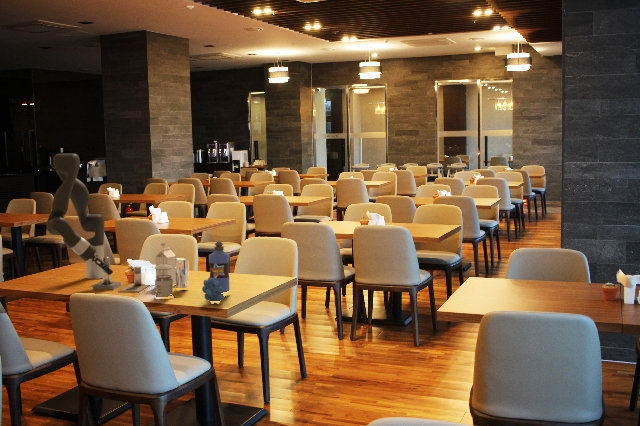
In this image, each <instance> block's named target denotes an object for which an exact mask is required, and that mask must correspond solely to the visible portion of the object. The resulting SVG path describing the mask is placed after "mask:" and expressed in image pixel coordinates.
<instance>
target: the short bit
mask: <svg viewBox="0 0 640 426" xmlns="http://www.w3.org/2000/svg"><path fill="white" fill-rule="evenodd" d="M133 269H134V273H133V274H134V275H133V279H134V280H133V284H134V286H142V284H143V282H142V279H143V277H142V266H134V268H133Z"/></svg>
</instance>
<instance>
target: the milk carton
mask: <svg viewBox="0 0 640 426" xmlns="http://www.w3.org/2000/svg"><path fill="white" fill-rule="evenodd" d="M163 251H164V264H168V265H170V266H172V267H173V268H172V269H169V270H164V275H171V276H172V277H171V278H170V279H173V284H176V278H175V272H174V259H177V255H176V254H175V252H173V250H171V247H170V246H169V247H163V248H161V249H160V251H159V253H158V254H157V255H156V256H155V267H156V266H158V265H161V264H163ZM160 271H161V272H162V273H161V272H160V274H159V270H156V269H155V280H156V279H158V278H156V276H158V275H159V276H160V275H162V274H163V270H160ZM161 281H163V279H161ZM156 286H157V285H156Z"/></svg>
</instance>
